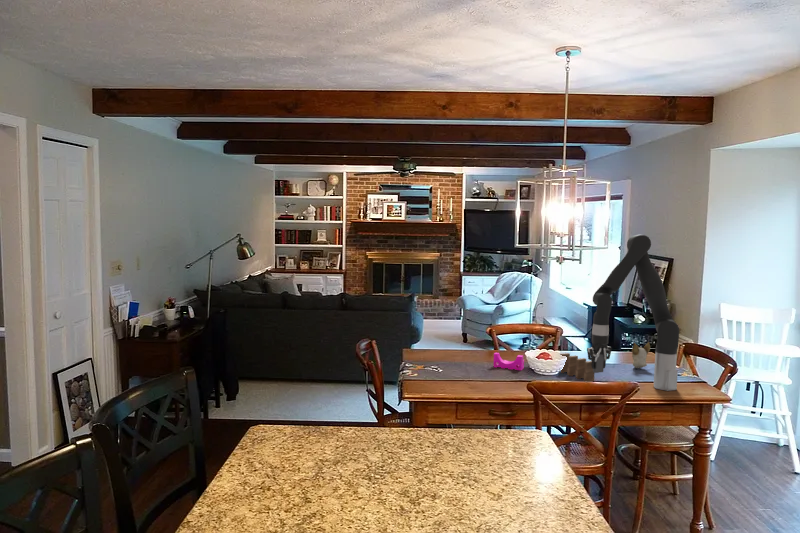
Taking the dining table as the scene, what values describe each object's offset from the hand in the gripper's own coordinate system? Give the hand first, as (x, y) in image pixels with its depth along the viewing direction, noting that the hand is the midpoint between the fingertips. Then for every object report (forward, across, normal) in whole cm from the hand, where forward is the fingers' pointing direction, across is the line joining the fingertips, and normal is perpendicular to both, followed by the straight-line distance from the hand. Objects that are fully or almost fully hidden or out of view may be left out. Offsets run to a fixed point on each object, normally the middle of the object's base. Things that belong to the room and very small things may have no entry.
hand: (598, 368), depth 274 cm
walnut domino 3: (+8, 0, +12) cm, 14 cm away
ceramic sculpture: (+8, +44, +16) cm, 47 cm away
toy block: (+9, -22, +42) cm, 49 cm away
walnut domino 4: (+8, 0, +6) cm, 10 cm away
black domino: (+2, 0, 0) cm, 2 cm away
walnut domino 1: (+8, 0, +24) cm, 25 cm away
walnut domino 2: (+8, 0, +18) cm, 20 cm away
